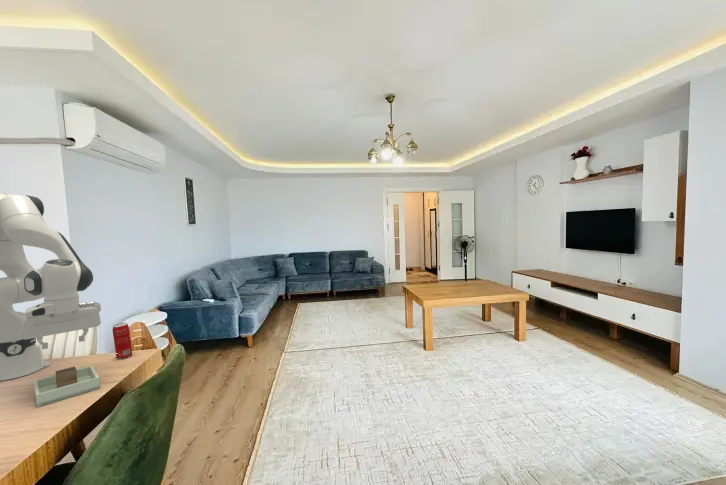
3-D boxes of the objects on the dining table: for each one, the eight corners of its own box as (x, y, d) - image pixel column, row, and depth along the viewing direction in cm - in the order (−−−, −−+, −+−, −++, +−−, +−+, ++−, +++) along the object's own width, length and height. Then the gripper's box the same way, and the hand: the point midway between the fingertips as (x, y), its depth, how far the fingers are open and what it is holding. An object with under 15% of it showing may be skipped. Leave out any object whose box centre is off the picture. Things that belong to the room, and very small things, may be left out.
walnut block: (56, 387, 111) (55, 371, 111) (75, 382, 115) (74, 366, 114) (58, 392, 108) (56, 375, 107) (77, 386, 111) (76, 370, 111)
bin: (34, 391, 111) (33, 380, 110) (92, 375, 122) (91, 365, 122) (36, 407, 100) (36, 395, 100) (99, 388, 112) (99, 377, 112)
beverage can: (135, 354, 143) (133, 321, 142) (123, 360, 136) (121, 326, 136) (123, 354, 144) (121, 321, 143) (110, 360, 137) (108, 326, 137)
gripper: (98, 299, 120) (100, 335, 121) (19, 310, 105) (21, 350, 105) (101, 302, 116) (103, 339, 116) (19, 313, 100) (22, 355, 101)
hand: (64, 344), depth 111 cm, fingers open, 8 cm apart
